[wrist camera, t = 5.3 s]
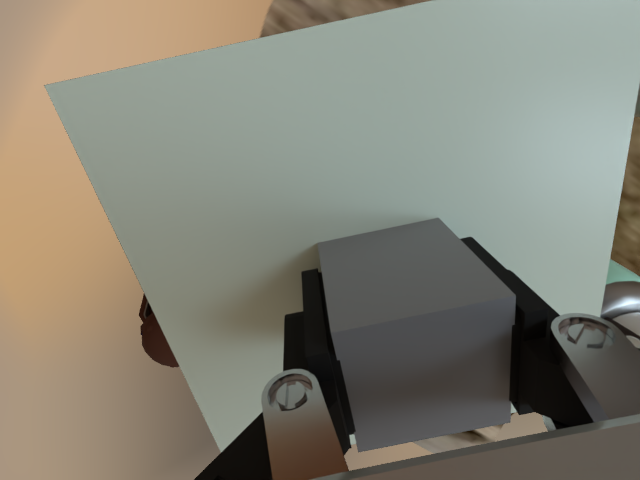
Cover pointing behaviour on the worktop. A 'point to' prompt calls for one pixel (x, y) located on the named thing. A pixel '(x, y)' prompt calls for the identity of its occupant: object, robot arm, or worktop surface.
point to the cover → (369, 196)
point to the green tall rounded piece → (622, 301)
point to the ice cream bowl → (155, 337)
